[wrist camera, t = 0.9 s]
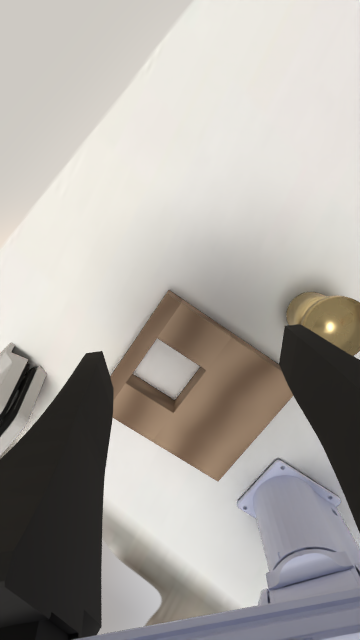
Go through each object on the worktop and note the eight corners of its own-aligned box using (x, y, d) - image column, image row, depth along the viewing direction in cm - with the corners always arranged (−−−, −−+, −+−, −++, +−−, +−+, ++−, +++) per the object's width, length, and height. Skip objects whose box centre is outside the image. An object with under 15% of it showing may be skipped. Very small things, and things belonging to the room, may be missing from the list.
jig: (293, 374, 31) (302, 385, 29) (216, 464, 34) (218, 481, 32) (168, 289, 29) (166, 293, 27) (99, 393, 33) (91, 404, 30)
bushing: (347, 306, 29) (386, 321, 23) (311, 348, 30) (340, 373, 25) (305, 276, 29) (334, 283, 23) (270, 320, 30) (289, 337, 24)
